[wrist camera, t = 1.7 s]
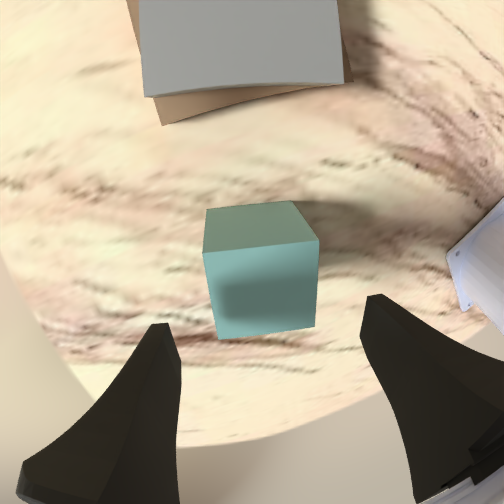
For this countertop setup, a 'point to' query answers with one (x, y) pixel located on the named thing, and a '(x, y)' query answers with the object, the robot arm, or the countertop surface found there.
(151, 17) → the grey square slab
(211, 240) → the teal block
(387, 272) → the countertop surface
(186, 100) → the walnut slab
